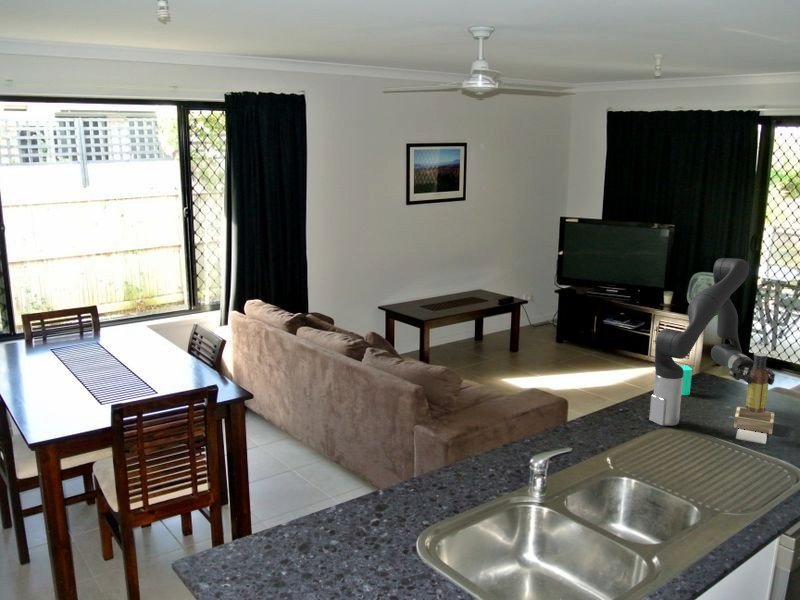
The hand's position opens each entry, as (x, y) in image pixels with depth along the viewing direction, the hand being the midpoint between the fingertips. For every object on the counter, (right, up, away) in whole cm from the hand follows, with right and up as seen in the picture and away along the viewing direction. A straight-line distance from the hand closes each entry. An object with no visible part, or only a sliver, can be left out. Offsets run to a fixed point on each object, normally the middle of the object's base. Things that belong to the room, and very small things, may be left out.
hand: (761, 381), depth 237 cm
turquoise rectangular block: (-7, -10, +48) cm, 50 cm away
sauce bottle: (0, -10, +5) cm, 11 cm away
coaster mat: (-1, -19, +4) cm, 20 cm away
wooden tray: (+5, -17, +15) cm, 23 cm away
